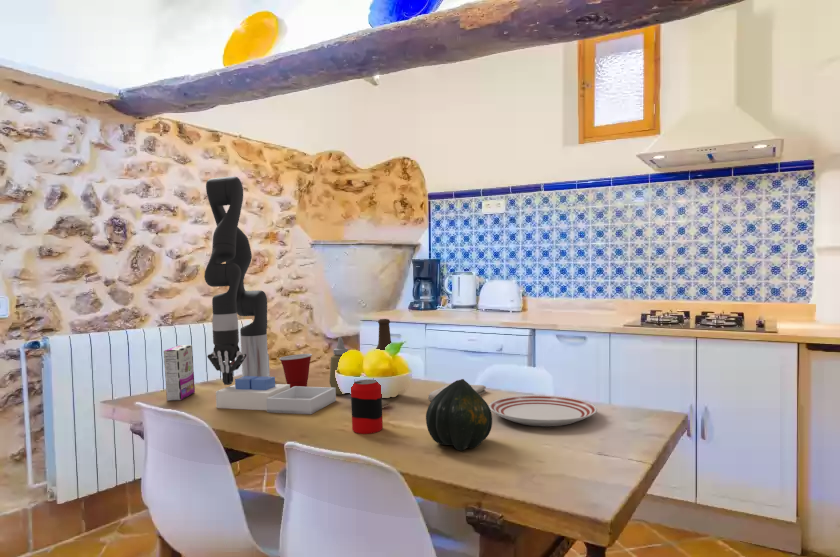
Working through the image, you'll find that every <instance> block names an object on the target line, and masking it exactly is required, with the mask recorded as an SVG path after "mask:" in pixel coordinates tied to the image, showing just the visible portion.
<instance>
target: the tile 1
mask: <svg viewBox="0 0 840 557" xmlns="http://www.w3.org/2000/svg"><path fill="white" fill-rule="evenodd" d="M257 377H259V376H243V377H242V376H241V377H238V378H237V377H236V378H234V385H235V389H246V390H250V389H252V388H251V380H252V379H255V378H257Z"/></svg>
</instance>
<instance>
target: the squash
mask: <svg viewBox="0 0 840 557" xmlns="http://www.w3.org/2000/svg"><path fill="white" fill-rule="evenodd" d="M448 385H449V386H447V387H446V388H444V389H443V390H442V391H440V392H439V393H438V394H437V395H436V396H435V397H434V398H433V400H432V401H430V403H429V404H428V407H427V409H426V413H425V421H426V422H425V423H426V424H425V425H426V428H427V430H428V433H429V435H430V437H431V438H432V440H433V441H434V443H437V444H439V445H443V446H446V445H448V446H452V445H453V447H454V448H455V449H456V450H458V451H460V452H462V451H465V450H466V449H467V448H469V449H473V448H474V449H475V448H476V447H478V446H480V445H481V444H482V443H483V441H484V440H485V439H486V438H488V436H489V435H490V433H491V431H492V427H493V414H492V413H493V412H492V411H491V410H490V408H489V404H488V403H487V402H486V401H485V399H484V398H483V397H482V396H481V395H479V394H478V393H477V392H476V391H475V390H474V389H473V388H472V387H471V386H470V385H471V384H470V383H468V381H466V380H465V379H464V378H461V379H457V380H455V381H453V382H452V383H450V384H448Z"/></svg>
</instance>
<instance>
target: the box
mask: <svg viewBox="0 0 840 557" xmlns="http://www.w3.org/2000/svg"><path fill="white" fill-rule="evenodd" d="M266 399H267V410H266V413H275V414H276V413H277V414H293V415H294V414H295V415H296V414H297V415H313V414H315V413H316V412H318V411H320V410H322V409H324V408H325V407H327V406H329V405H330V404H333V403H335V402H336V401H337V394H336V388H332V387H331V386H329V387H328V386H327V387H325V386H324V387H323V386H322V387H321V386H307V387H301V386H294V387H292V388H290V389H287V390H285V391H282V392H280V393H278V394H275V395H273V396H271V397H268V398H266Z"/></svg>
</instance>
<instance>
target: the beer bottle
mask: <svg viewBox="0 0 840 557" xmlns="http://www.w3.org/2000/svg"><path fill="white" fill-rule="evenodd" d="M390 323H391V321H390V319H388V318H379V319H378V322H377V324H378V342H377V346H376V348H375V349H380V350H385V347H386V346H387V345H388V344H390V343H392V339H391V328H390V327H391V326H390Z"/></svg>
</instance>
